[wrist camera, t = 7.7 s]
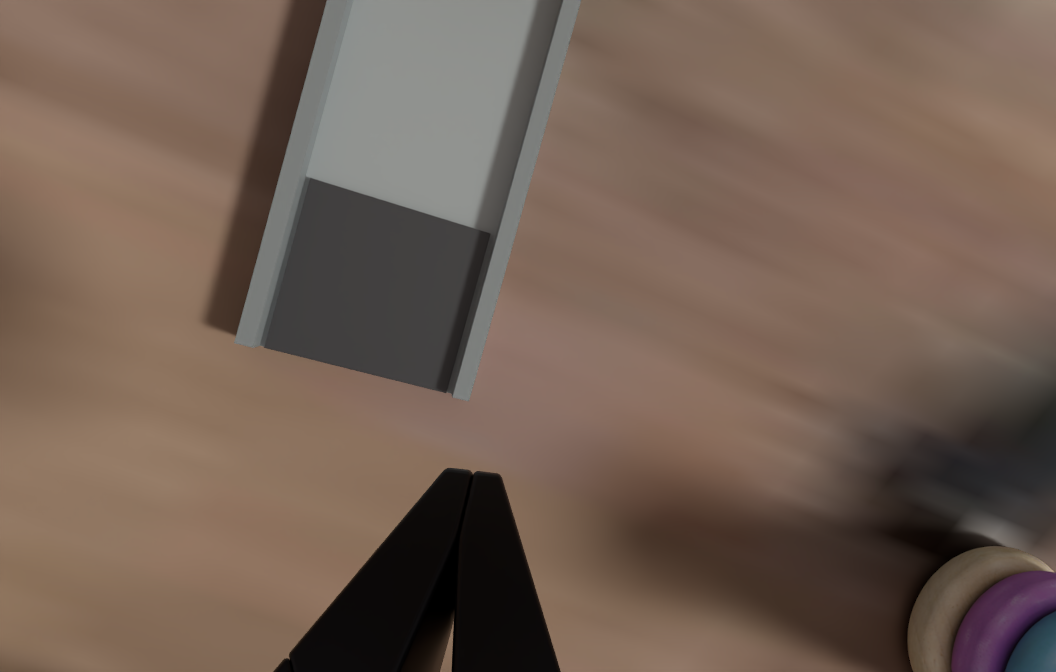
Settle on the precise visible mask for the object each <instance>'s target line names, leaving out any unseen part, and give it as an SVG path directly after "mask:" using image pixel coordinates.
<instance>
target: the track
mask: <svg viewBox="0 0 1056 672" xmlns="http://www.w3.org/2000/svg"><path fill="white" fill-rule="evenodd" d="M580 2H581V0H327V2H326V6H325V9H324V13H323V17H322V20H321V24H320V28H319V31H318V35H317V39H316V43H315V46H314V50H313V54H312V57H311V61H310V65H309V68H308V72H307V76H306V80H305V83H304V87H303V91H302V94H301V98H300V102H299V105H298V109H297V113H296V117H295V120H294V124H293V128H292V131H291V135H290V139H289V142H288V146H287V150H286V154H285V157H284V161H283V165H282V168H281V172H280V176H279V179H278V183H277V187H276V190H275V194H274V198H273V202H272V205H271V209H270V213H269V216H268V220H267V224H266V227H265V231H264V235H263V239H262V242H261V246H260V250H259V253H258V257H257V261H256V264H255V268H254V272H253V276H252V279H251V283H250V287H249V290H248V294H247V298H246V301H245V305H244V309H243V313H242V316H241V320H240V324H239V327H238V331H237V335H236V338H235V342H234V343H236V344H240V345H244V346H248V347H252V348H254V347H257V346H264V348H268V349H272V350H276V351H280V352H284V353H288V354H292V355H296V356H300V357H304V358H308V359H312V360H316V361H320V362H324V363H328V364H332V365H336V366H340V367H344V368H348V369H352V370H356V371H360V372H364V373H368V374H372V375H376V376H380V377H384V378H388V379H392V380H396V381H400V382H404V383H408V384H412V385H416V386H420V387H424V388H428V389H432V390H436V391H440V392H444V393H446V392H448V393H451V394H452V397H453V398H457V399H461V400H465V401H469V399H470V395H471V392H472V388H473V385H474V381H475V378H476V374H477V370H478V367H479V363H480V360H481V356H482V353H483V349H484V345H485V342H486V338H487V335H488V331H489V328H490V324H491V320H492V317H493V313H494V310H495V306H496V303H497V299H498V295H499V292H500V288H501V285H502V281H503V278H504V274H505V270H506V267H507V263H508V260H509V256H510V253H511V249H512V245H513V242H514V238H515V235H516V231H517V228H518V224H519V220H520V217H521V213H522V210H523V206H524V202H525V199H526V195H527V192H528V188H529V185H530V181H531V177H532V174H533V170H534V167H535V163H536V160H537V156H538V152H539V149H540V145H541V142H542V138H543V135H544V131H545V127H546V124H547V120H548V117H549V113H550V110H551V106H552V102H553V99H554V95H555V92H556V88H557V85H558V81H559V77H560V74H561V70H562V67H563V63H564V60H565V56H566V52H567V49H568V45H569V42H570V38H571V35H572V31H573V27H574V24H575V20H576V17H577V13H578V10H579V6H580Z"/></svg>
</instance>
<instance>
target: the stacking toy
mask: <svg viewBox="0 0 1056 672" xmlns="http://www.w3.org/2000/svg"><path fill="white" fill-rule="evenodd" d="M907 644H908V654H909V659H910V663H911V666H912V670H913V672H1056V573H1055V572H1054V571H1053V570H1052V569H1051V568H1050V567H1048V566H1047V565H1046V564H1045V563H1044V562H1042V561H1041V560H1039V559H1037V558H1036V557H1034V556H1032V555H1030V554H1028V553H1026V552H1023V551H1021V550H1018V549H1014V548H1009V547H1003V546H988V547H981V548H976V549H972V550H969V551H966V552H964V553H962V554H960V555H958V556H956V557H954V558H953V559H951V560H949V561H948V562H947V563H946V564H944V565H943V566H942V567H940V568H939V569H938V570H937V571H936V572H935V573H934V574H933V575H932V576H931V578H930V579H929V580H928V581H927V583H926V584H925V585H924V587H923V589H922V590H921V592H920V594H919V596H918V598H917V600H916V602H915V604H914V607H913V610H912V613H911V616H910V620H909V626H908V638H907Z"/></svg>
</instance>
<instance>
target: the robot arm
mask: <svg viewBox="0 0 1056 672" xmlns="http://www.w3.org/2000/svg"><path fill="white" fill-rule="evenodd" d="M453 621H454V631H453V654H452V672H561V671H560V668H559V665H558V661H557V658H556V655H555V651H554V648H553V645H552V642H551V638H550V635H549V632H548V628H547V625H546V622H545V618H544V615H543V612H542V609H541V605H540V602H539V599H538V595H537V592H536V589H535V585H534V582H533V579H532V575H531V572H530V569H529V566H528V562H527V559H526V556H525V552H524V549H523V546H522V542H521V539H520V536H519V532H518V529H517V526H516V523H515V519H514V516H513V513H512V509H511V506H510V503H509V499H508V496H507V493H506V490H505V486H504V483H503V480H502V477H501V476H500V475H499V474H497V473H490V472H481V471H477V472H475V473H474V474H473V473H472V472H471V471H470V470H464V469H455V468H447V469H445V470H444V471H443V472H442V473H441V474H440V475H439V477H438V478H437V479H436V480H435V481H434V483H433V484H432V485H431V486H430V487H429V488H428V490H427V491H426V492H425V493H424V494H423V496H422V497H421V498H420V499H419V500H418V502H417V503H416V504H415V505H414V506H413V507H412V509H411V510H410V511H409V512H408V513H407V515H406V516H405V517H404V518H403V519H402V520H401V522H400V523H399V524H398V525H397V526H396V528H395V529H394V530H393V531H392V532H391V533H390V535H389V536H388V537H387V538H386V539H385V541H384V542H383V543H382V544H381V545H380V546H379V548H378V549H377V550H376V551H375V552H374V554H373V555H372V556H371V557H370V558H369V560H368V561H367V562H366V563H365V564H364V565H363V567H362V568H361V569H360V570H359V571H358V573H357V574H356V575H355V576H354V577H353V578H352V580H351V581H350V582H349V583H348V584H347V586H346V587H345V588H344V589H343V590H342V591H341V593H340V594H339V595H338V596H337V597H336V599H335V600H334V601H333V602H332V603H331V604H330V606H329V607H328V608H327V609H326V610H325V612H324V613H323V614H322V615H321V616H320V618H319V619H318V620H317V621H316V622H315V623H314V625H313V626H312V627H311V628H310V629H309V631H308V632H307V633H306V634H305V635H304V636H303V638H302V639H301V640H300V641H299V642H298V644H297V645H296V646H295V647H294V648H293V649H292V651H291V652H290V654H289V658H290V660H289V659H288V658H286V659H284V660H283V661H282V662H281V663H280V664H279V666H278V667H277V668H276V669H275V670H274V672H440V669H441V665H442V662H443V658H444V655H445V651H446V647H447V644H448V640H449V637H450V633H451V629H452V625H453Z"/></svg>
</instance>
